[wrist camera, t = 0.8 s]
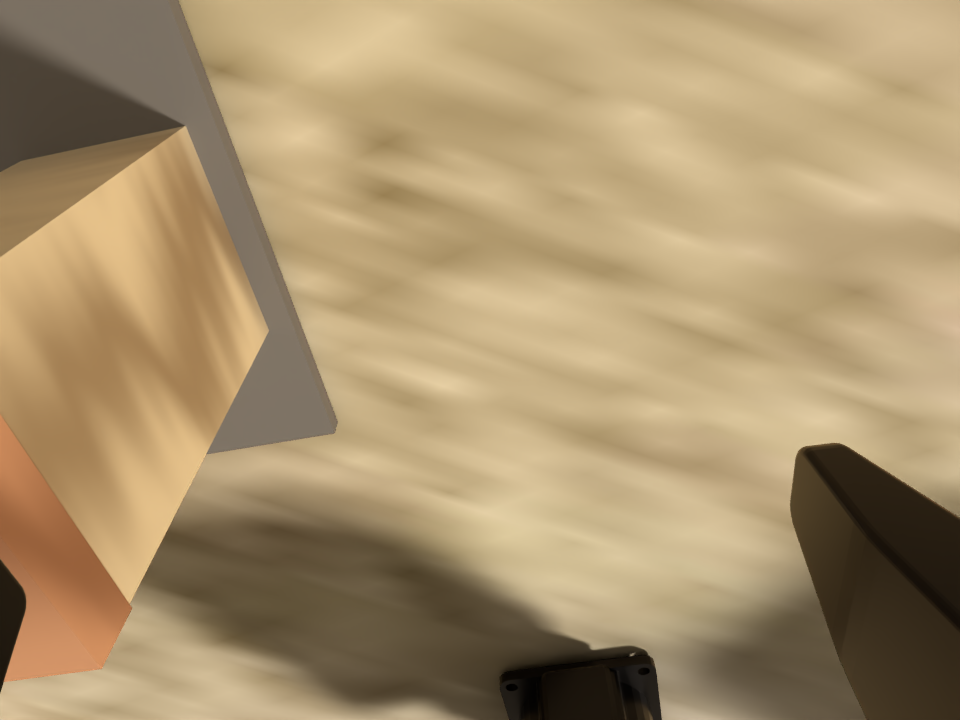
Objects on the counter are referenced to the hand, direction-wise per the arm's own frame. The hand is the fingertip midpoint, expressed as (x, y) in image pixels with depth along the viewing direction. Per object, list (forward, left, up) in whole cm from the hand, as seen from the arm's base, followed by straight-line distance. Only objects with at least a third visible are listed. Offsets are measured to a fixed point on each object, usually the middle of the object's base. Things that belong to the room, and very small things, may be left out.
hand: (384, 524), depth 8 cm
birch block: (0, +8, -13) cm, 15 cm away
